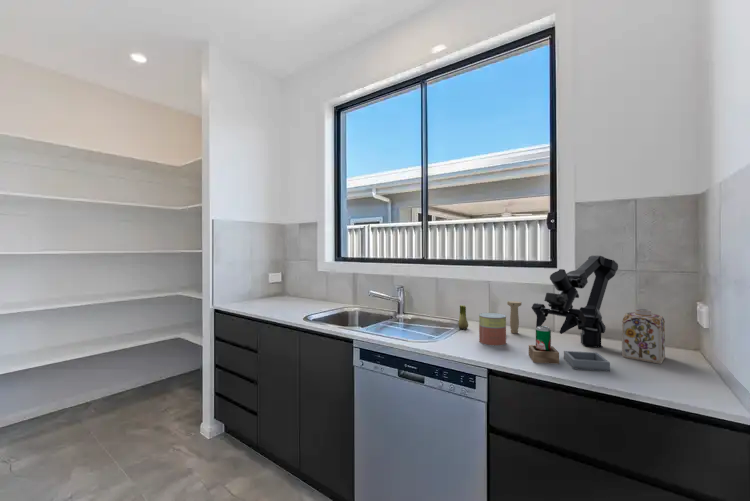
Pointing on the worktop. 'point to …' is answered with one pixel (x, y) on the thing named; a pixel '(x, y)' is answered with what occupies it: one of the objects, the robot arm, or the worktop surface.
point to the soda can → (543, 338)
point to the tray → (586, 361)
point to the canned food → (492, 329)
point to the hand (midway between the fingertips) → (548, 330)
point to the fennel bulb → (463, 318)
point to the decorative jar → (643, 336)
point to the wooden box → (544, 355)
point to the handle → (514, 316)
